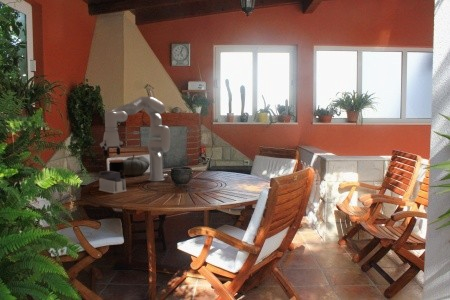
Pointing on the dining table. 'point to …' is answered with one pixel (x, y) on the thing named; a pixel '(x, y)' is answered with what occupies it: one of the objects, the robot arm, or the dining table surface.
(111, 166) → the coffee jar
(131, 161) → the gourd
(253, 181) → the dining table surface
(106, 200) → the dining table surface
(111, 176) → the grey bracket
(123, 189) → the stand
